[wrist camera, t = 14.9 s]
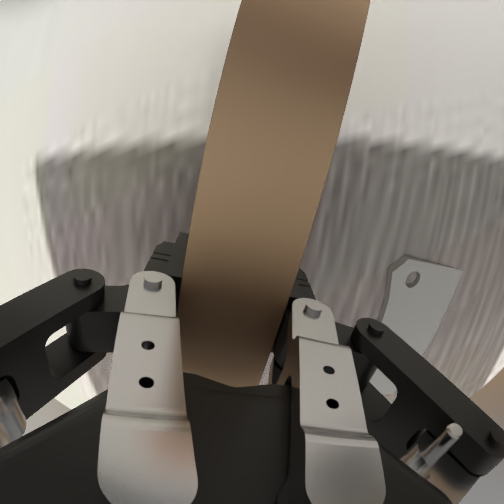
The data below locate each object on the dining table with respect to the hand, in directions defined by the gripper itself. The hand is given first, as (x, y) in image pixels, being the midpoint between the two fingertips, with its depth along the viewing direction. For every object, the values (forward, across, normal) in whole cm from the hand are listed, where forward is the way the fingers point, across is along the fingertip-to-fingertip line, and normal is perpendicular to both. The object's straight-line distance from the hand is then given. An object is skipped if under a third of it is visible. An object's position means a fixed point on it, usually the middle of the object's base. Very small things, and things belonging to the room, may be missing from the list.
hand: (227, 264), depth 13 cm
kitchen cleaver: (+8, -16, +12) cm, 22 cm away
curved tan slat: (+2, 0, 0) cm, 2 cm away
